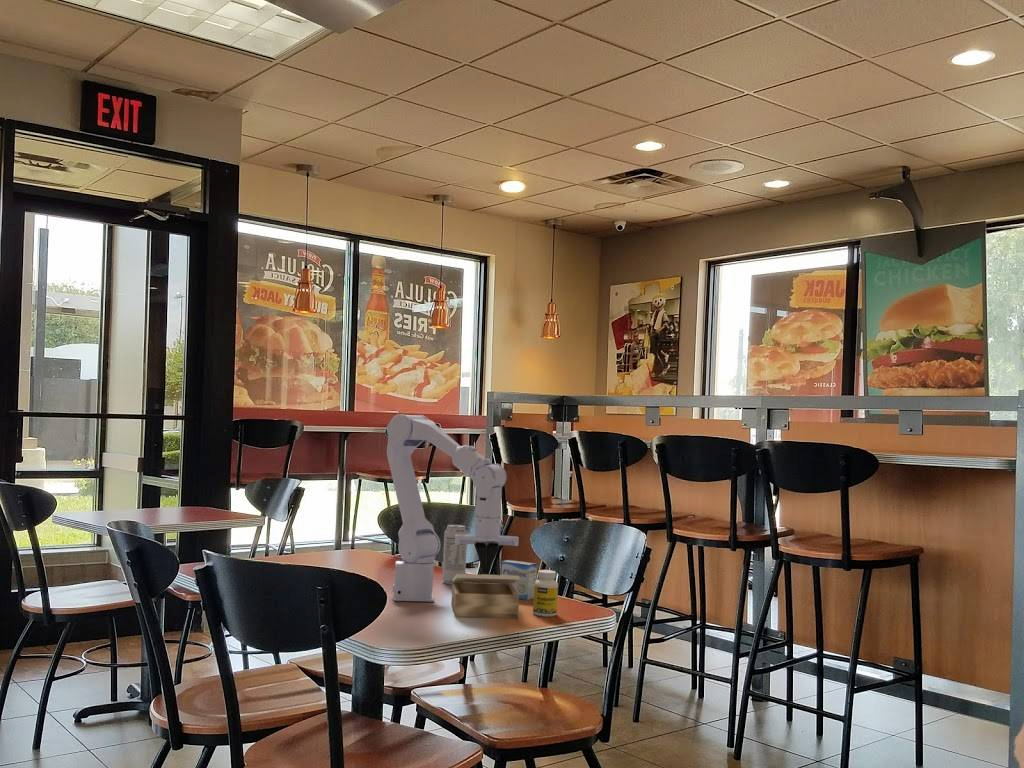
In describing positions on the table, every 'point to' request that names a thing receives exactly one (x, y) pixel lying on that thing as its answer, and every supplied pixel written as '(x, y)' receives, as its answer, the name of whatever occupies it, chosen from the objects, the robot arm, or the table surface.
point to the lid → (485, 578)
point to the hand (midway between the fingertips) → (485, 576)
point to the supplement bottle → (545, 594)
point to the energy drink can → (453, 553)
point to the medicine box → (521, 577)
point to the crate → (484, 600)
